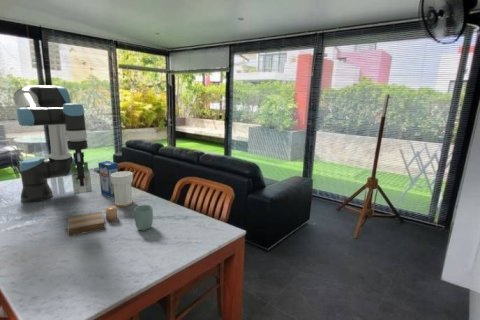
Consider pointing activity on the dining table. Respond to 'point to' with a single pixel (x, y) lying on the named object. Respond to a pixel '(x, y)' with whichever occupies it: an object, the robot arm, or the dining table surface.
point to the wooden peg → (111, 213)
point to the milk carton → (107, 177)
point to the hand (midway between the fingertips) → (82, 190)
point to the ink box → (75, 175)
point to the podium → (85, 223)
